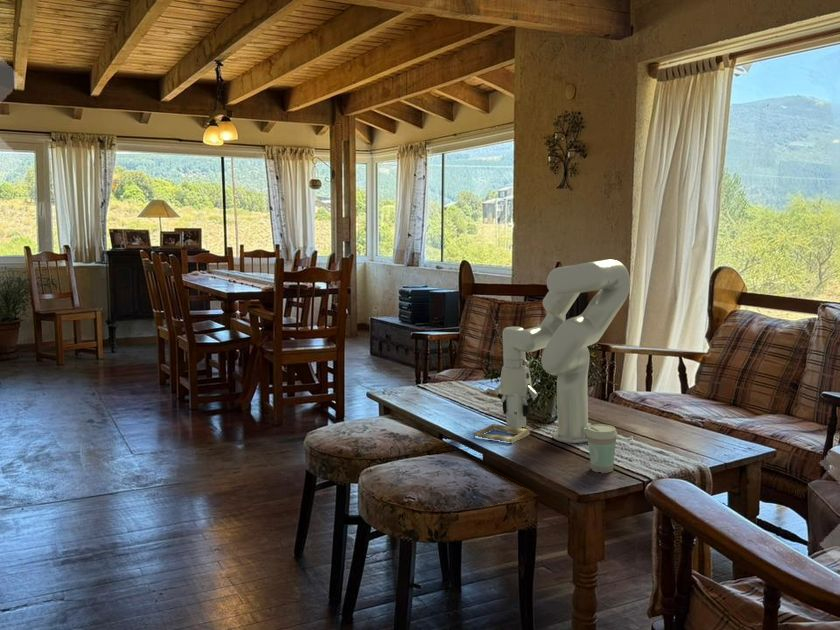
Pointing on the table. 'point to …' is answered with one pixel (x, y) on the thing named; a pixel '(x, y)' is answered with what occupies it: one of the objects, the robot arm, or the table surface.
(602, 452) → the coffee cup
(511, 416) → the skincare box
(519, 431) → the gold picture frame
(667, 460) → the table surface
